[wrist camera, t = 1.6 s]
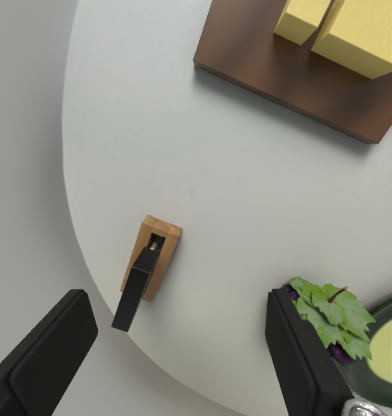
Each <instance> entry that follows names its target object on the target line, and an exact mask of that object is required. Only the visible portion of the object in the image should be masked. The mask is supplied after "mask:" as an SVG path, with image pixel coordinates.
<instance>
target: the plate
mask: <svg viewBox="0 0 392 416" xmlns="http://www.w3.org/2000/svg"><path fill="white" fill-rule="evenodd" d="M370 315H371V316H372V317H373V318H374V319H375V321H376V323H374V322H371V323H367V324H366V326H367V327H368V329H369V330H370V331H369V330H368V331H364V332H365V334H366V335H367V337H368V338H369V340H370V341H369V342H370V343H369V342H367V341H366V342H367V343H368V344H369V345H370V348H369V349H370V351H371V355H372V360H370V359H369V358H366V357H364V356H362V360H361V359H360V358H359V357H358V356H357V355H356V358H357V362H355V363H352V364H350V365H348V366H346V367H344V366H343V365H342V364H340V366H341V371H342V374H343V376H344V378H345V380H346V381H347V383H348V384H349V386H350V387H351V388H352V389H353V390H354V391H355V392H356V393H357V394H358V395H360V396H361V397H363V398H364V399H366V400H368V401H370V402H372V403H375V404H378V405H381V406H384V407H388V408H392V299H391V300H389V301H387V302H386V303H384V304H382V305H381V306H379V307H378V308H376V309H375V310H374V311H372V312H371V313H370Z"/></svg>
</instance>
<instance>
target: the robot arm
mask: <svg viewBox="0 0 392 416" xmlns="http://www.w3.org/2000/svg"><path fill="white" fill-rule="evenodd" d="M97 335H98V328H97V325H96V321H95V318H94V315H93V311H92V308H91V304H90V301H89V298H88V294H87V293H86V292H85V291H84V290H83V289H72V290H70V291H69V292H68V293H67V294H66V295H65V296H64V297H63V298H62V299H61V300H60V301H59V302H58V303H57V304H56V305H55V306H54V307H53V309H51V310H50V311H49V313H48V314H47V315H46V316H45V317H44V318H43V319H42V320H41V321H40V322H39V323H38V324H37V325H36V326H35V327H34V328H33V329H32V330H31V332H30V333H29V334H28V335H27V336H26V337H25V338H24V339H23V340H22V341H21V342H20V343H19V344H18V345H17V346H16V347H15V348H14V349H13V351H12V352H11V353H10V354H9V355H8V356H7V357H6V358H5V359H4V360H3V361H2V362H1V363H0V416H52V414H53V412H54V410H55V408H56V407H57V405H58V403H59V402H60V400H61V398H62V396H63V395H64V393H65V391H66V389H67V388H68V386H69V384H70V383H71V381H72V379H73V377H74V376H75V374H76V372H77V370H78V369H79V367H80V365H81V363H82V362H83V360H84V358H85V356H86V355H87V353H88V351H89V350H90V348H91V346H92V344H93V343H94V341H95V339H96V337H97ZM265 336H266V341H267V344H268V348H269V351H270V354H271V358H272V361H273V364H274V368H275V371H276V374H277V378H278V381H279V384H280V388H281V391H282V394H283V398H284V401H285V404H286V408H287V411H288V414H289V416H387V415H386V414H385V413H384V412H383V411H381V410H380V409H379V408H377V407H376V406H374V405H373V404H371V403H369V402H367V401H364V400H361V399H355V397H354V396H353V394H352V392H351V390H350V389H349V387H348V385H347V384H346V382H345V380H344V378H343V377H342V375H341V373H340V372H339V370H338V368H337V366H336V365H335V363H334V361H333V359H332V358H331V356H330V354H329V353H328V351H327V349H326V347H325V346H324V344H323V342H322V341H321V339H320V337H319V335H318V334H317V332H316V330H315V329H314V327H313V325H312V324H311V322H310V321H309V320H305V319H302V318H301V316H300V315H299V313H298V311H297V309H296V307H295V305H294V303H293V302H292V300H291V298H290V296H289V294H288V292H287V291H286V289H273V290H272V292H269V293H268V304H267V317H266V329H265Z"/></svg>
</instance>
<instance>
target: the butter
mask: <svg viewBox="0 0 392 416" xmlns="http://www.w3.org/2000/svg"><path fill="white" fill-rule="evenodd" d="M311 51H313V52H315V53H317V54H319V55H322V56H324V57H326V58H328V59H330V60H332V61H334V62H336V63H338V64H341V65H343V66H345V67H347V68H349V69H351V70H353V71H355V72H357V73H360V74H362V75H364V76H366V77H368V78H370V79H375V78H377V77H380V76H382V75H385V74H387V73H390V72H392V0H335V1H334V3H333V5H332V7H331V9H330V12H329V14H328V16H327V18H326V20H325V22H324V24H323V26H322V28H321V30H320V32H319V34H318V36H317V38H316V40H315V42H314V44H313V46H312V48H311Z"/></svg>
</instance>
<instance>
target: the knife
mask: <svg viewBox="0 0 392 416" xmlns="http://www.w3.org/2000/svg"><path fill="white" fill-rule="evenodd" d="M161 237H162V236H159V235H157V237H156V239H155V241H154V243H153V244H152V246H151V248H147V247H144V248H143V249H142V251H141V252H140V254H139V255H138V257H137V259H136V260H135V262H134V263H133V265H132V267H131V269H130V272H129V275H128V278H127V281H126V284H125V287H124V290H123V293H122V296H121V299H120V302H119V305H118V308H117V311H116V314H115V317H114V320H113V323H112V327H113V328H116V329H119V330H122V331H125V332H128V331H129V328H130V326H131V324H132V321H133V319H134V317H135V314H136V312H137V310H138V307H139V305H140V302H141V300H142V297H143V295H144V292H145V289H146V287H147V284H148V282H149V279H150V276H151V274H152V271H153V269H154V266H155V263H156V261H157V258H158V256H159V253H160V252H158V251H156V250H157V247H158V245H159V242H160V239H161Z"/></svg>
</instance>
